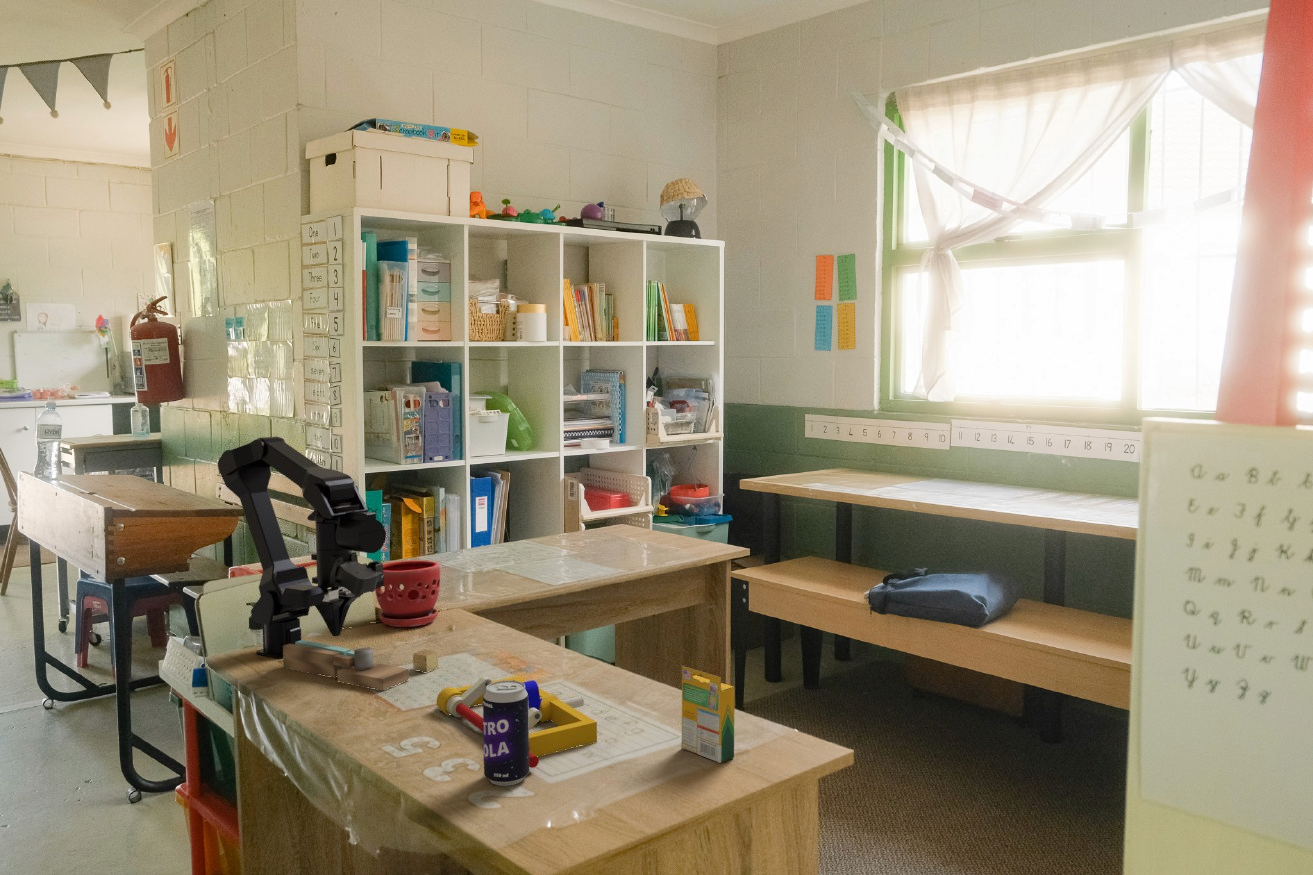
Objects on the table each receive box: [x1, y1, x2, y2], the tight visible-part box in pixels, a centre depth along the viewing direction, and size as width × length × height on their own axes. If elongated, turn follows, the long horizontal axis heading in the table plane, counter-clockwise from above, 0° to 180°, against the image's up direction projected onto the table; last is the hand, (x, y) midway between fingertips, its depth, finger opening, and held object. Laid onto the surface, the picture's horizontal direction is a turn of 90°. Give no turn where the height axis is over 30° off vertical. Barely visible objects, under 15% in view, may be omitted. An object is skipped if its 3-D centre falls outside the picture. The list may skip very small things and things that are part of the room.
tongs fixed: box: [282, 644, 410, 691], centre depth 166 cm, size 24×6×5 cm, turn 62°
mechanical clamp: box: [436, 675, 598, 769], centre depth 143 cm, size 18×6×30 cm
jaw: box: [295, 639, 355, 669], centre depth 169 cm, size 15×2×4 cm, turn 60°
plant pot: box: [374, 560, 441, 628], centre depth 200 cm, size 13×13×12 cm
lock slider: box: [412, 648, 439, 673], centre depth 169 cm, size 3×3×3 cm
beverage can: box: [482, 680, 530, 787], centre depth 124 cm, size 6×6×12 cm
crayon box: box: [681, 665, 735, 764], centre depth 132 cm, size 7×3×12 cm, turn 44°
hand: (336, 635), depth 171 cm, fingers closed
